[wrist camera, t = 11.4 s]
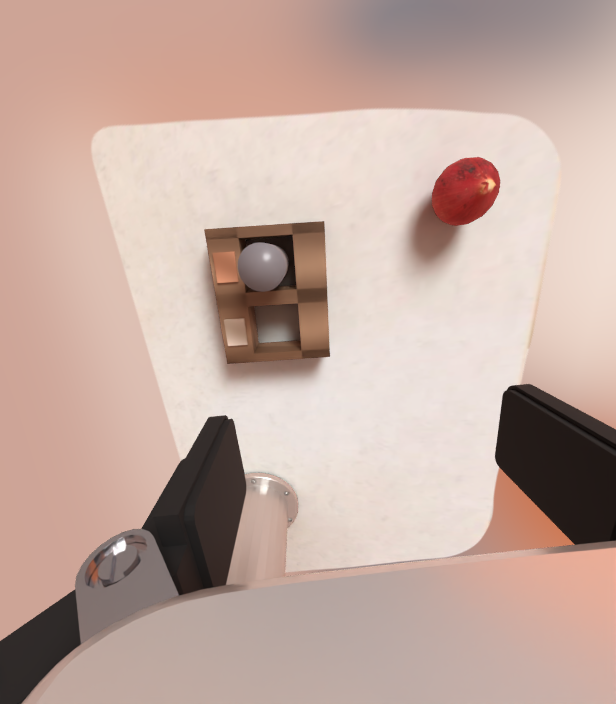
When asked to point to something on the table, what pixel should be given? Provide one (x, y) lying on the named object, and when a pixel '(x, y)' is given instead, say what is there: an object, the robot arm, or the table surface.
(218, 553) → the robot arm
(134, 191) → the table surface
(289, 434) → the table surface
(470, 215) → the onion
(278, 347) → the socket block
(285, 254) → the plug
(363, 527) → the table surface
